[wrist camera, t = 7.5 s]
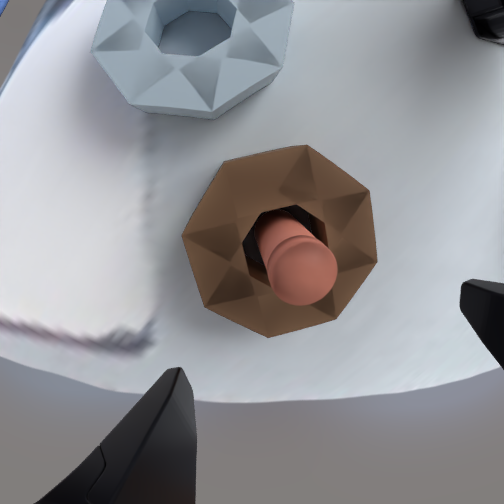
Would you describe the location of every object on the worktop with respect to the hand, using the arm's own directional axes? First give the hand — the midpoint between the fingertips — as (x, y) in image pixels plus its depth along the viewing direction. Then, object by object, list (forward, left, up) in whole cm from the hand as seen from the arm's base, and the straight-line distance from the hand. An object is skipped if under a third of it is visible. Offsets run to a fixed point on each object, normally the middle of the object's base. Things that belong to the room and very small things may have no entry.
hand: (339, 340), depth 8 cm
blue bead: (+2, -13, -12) cm, 18 cm away
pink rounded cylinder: (0, 0, -12) cm, 12 cm away
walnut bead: (0, 0, -12) cm, 12 cm away
